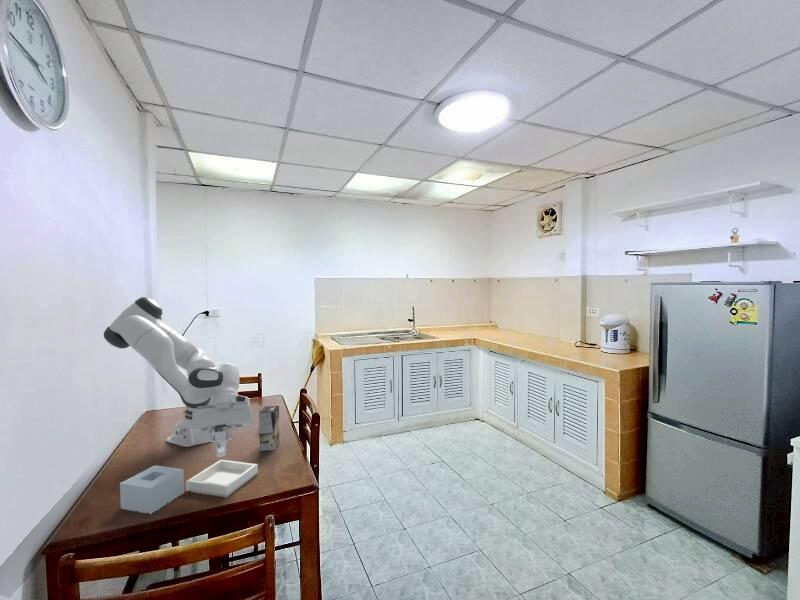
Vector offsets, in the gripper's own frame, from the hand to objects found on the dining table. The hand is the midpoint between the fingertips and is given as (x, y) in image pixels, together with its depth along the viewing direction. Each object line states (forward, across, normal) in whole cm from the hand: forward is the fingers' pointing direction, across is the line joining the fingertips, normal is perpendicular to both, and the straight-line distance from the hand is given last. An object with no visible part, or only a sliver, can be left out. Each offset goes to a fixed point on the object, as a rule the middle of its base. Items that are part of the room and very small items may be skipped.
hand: (220, 440), depth 129 cm
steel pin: (+3, 0, +4) cm, 5 cm away
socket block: (+14, -19, +7) cm, 25 cm away
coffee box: (-8, +14, +30) cm, 35 cm away
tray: (+10, 0, +11) cm, 15 cm away
